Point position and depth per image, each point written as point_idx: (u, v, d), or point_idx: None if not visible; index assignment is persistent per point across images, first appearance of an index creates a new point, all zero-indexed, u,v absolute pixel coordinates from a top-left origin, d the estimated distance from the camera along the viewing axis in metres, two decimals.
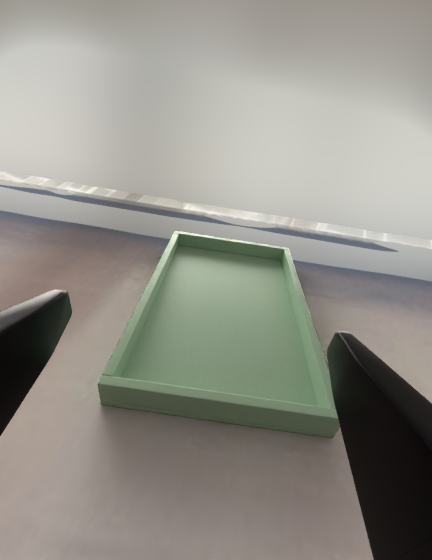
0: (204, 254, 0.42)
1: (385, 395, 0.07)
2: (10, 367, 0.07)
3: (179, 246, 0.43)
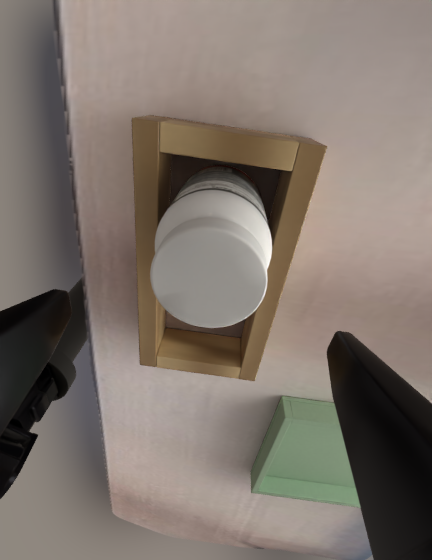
0: None
1: (385, 395, 0.07)
2: (10, 367, 0.07)
3: None
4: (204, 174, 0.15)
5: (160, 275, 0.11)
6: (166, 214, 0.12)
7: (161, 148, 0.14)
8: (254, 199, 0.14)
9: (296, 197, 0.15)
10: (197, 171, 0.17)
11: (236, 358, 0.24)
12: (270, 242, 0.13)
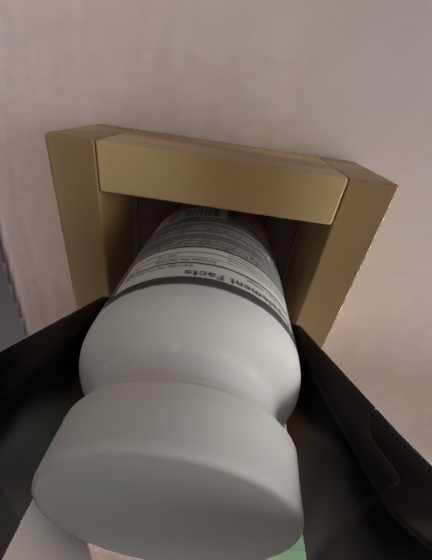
0: None
1: (316, 385, 0.07)
2: (71, 376, 0.07)
3: None
4: (181, 225, 0.09)
5: (56, 505, 0.05)
6: (93, 329, 0.06)
7: (103, 185, 0.08)
8: (266, 284, 0.07)
9: (335, 265, 0.09)
10: (174, 211, 0.11)
11: None
12: (299, 379, 0.07)
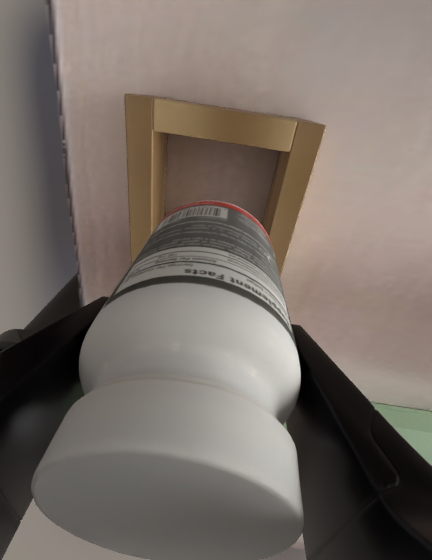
0: None
1: (316, 385, 0.07)
2: (71, 376, 0.07)
3: None
4: (181, 224, 0.09)
5: (56, 504, 0.05)
6: (93, 328, 0.06)
7: (155, 126, 0.14)
8: (266, 283, 0.07)
9: (293, 180, 0.15)
10: (174, 210, 0.11)
11: None
12: (299, 378, 0.07)
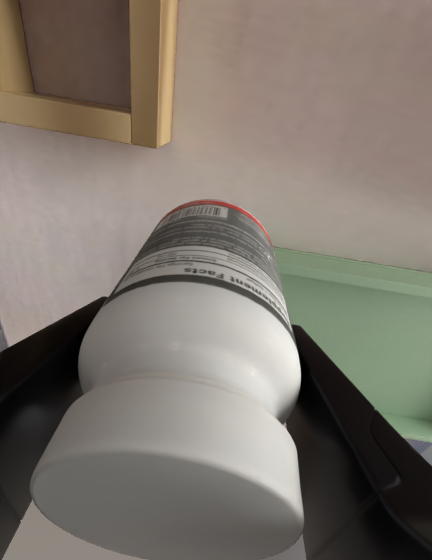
0: None
1: (316, 385, 0.07)
2: (71, 376, 0.07)
3: None
4: (180, 223, 0.09)
5: (54, 504, 0.05)
6: (92, 327, 0.06)
7: None
8: (266, 282, 0.07)
9: None
10: (174, 210, 0.11)
11: (129, 112, 0.15)
12: (299, 378, 0.07)
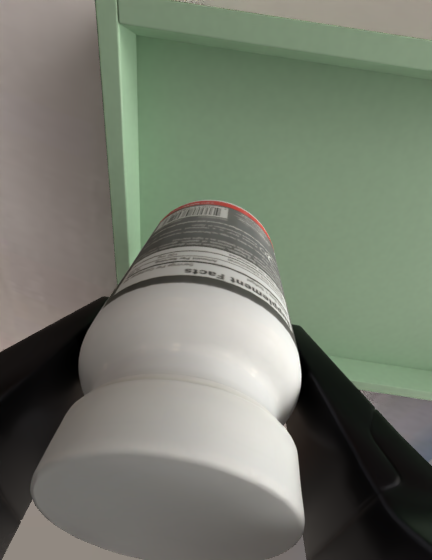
0: None
1: (316, 385, 0.07)
2: (71, 376, 0.07)
3: None
4: (181, 224, 0.09)
5: (55, 505, 0.05)
6: (93, 328, 0.06)
7: None
8: (267, 283, 0.07)
9: None
10: (174, 210, 0.11)
11: None
12: (299, 378, 0.07)
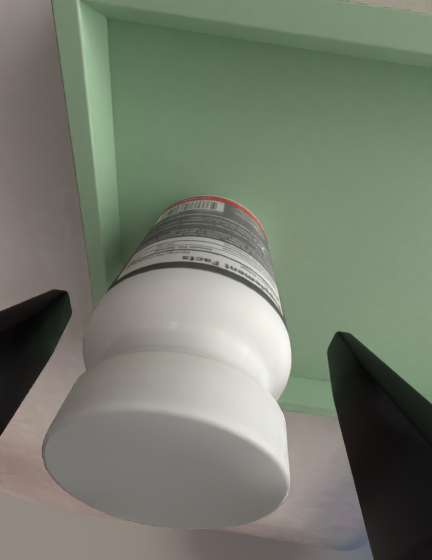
0: None
1: (385, 395, 0.07)
2: (10, 367, 0.07)
3: None
4: (179, 217, 0.10)
5: (64, 467, 0.05)
6: (96, 310, 0.07)
7: None
8: (260, 270, 0.08)
9: None
10: (173, 205, 0.12)
11: None
12: (289, 358, 0.07)
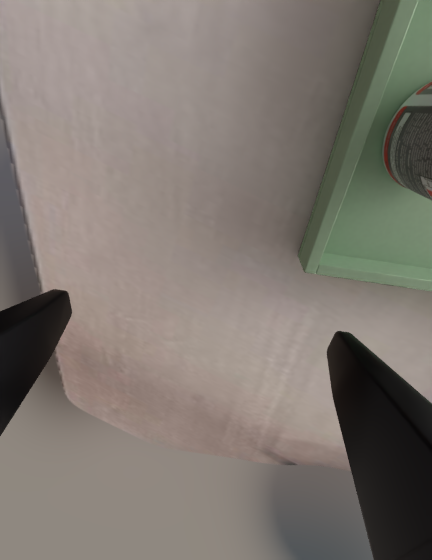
0: None
1: (385, 395, 0.07)
2: (10, 367, 0.07)
3: None
4: None
5: None
6: None
7: None
8: None
9: None
10: None
11: None
12: None
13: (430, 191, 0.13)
